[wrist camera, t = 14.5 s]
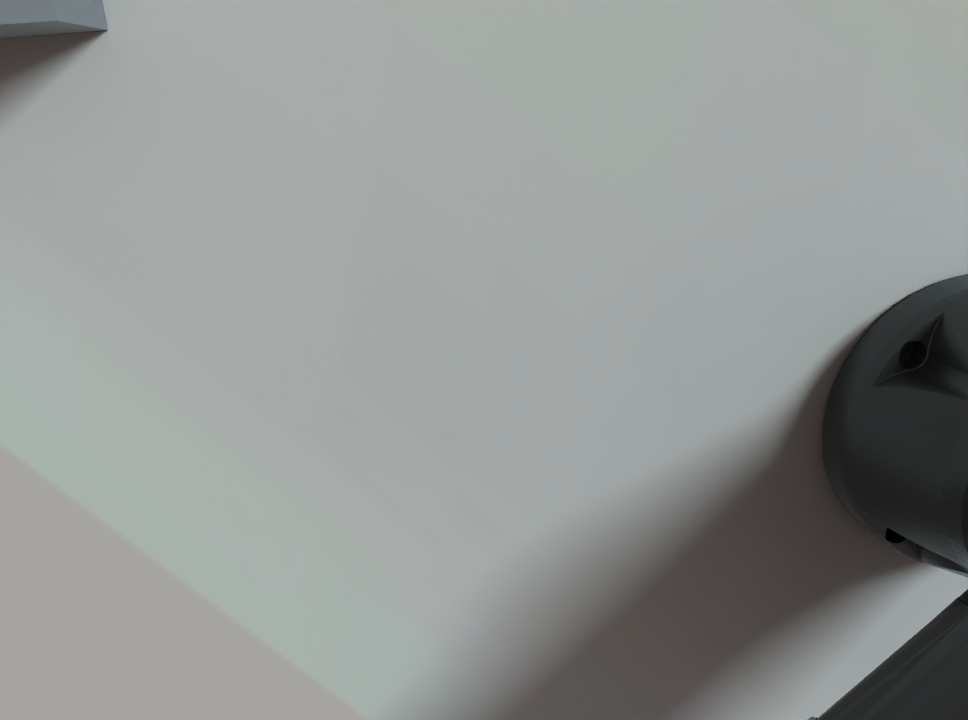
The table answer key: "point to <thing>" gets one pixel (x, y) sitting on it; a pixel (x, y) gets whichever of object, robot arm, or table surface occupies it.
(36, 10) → the housing
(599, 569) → the table surface
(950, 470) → the robot arm
